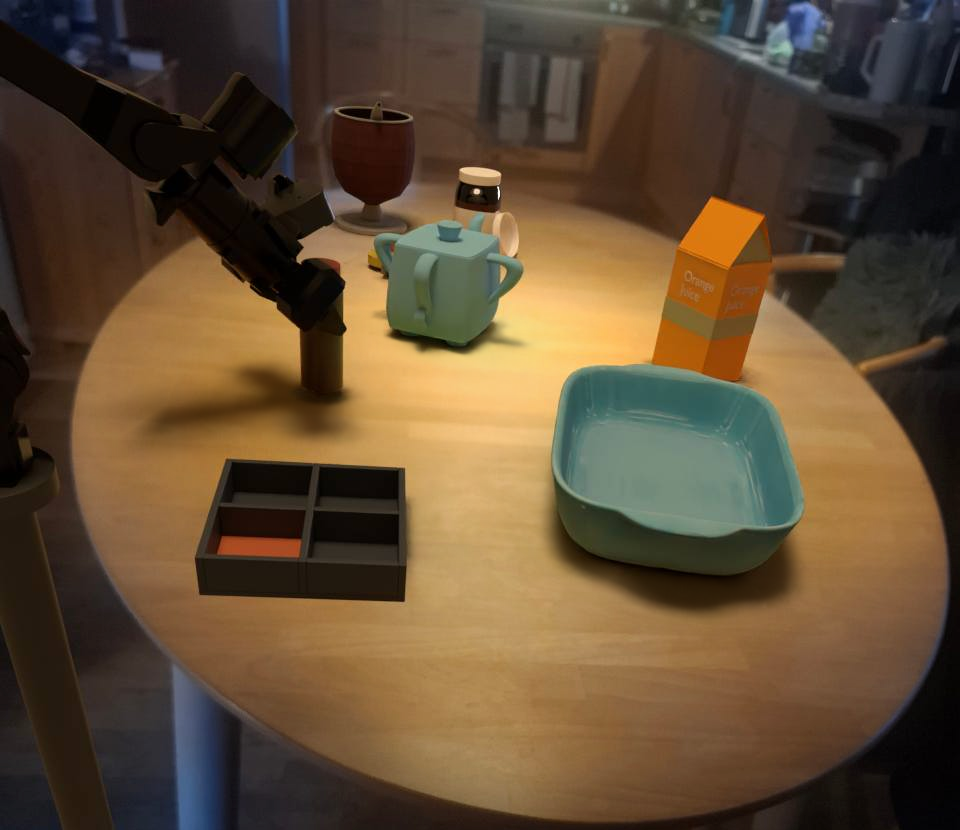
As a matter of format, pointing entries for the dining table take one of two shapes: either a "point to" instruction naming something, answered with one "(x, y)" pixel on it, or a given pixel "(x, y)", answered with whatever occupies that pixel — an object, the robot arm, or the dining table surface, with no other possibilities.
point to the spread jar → (485, 206)
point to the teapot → (445, 279)
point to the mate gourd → (372, 163)
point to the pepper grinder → (322, 352)
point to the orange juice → (715, 292)
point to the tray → (305, 532)
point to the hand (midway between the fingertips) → (333, 324)
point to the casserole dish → (672, 469)
